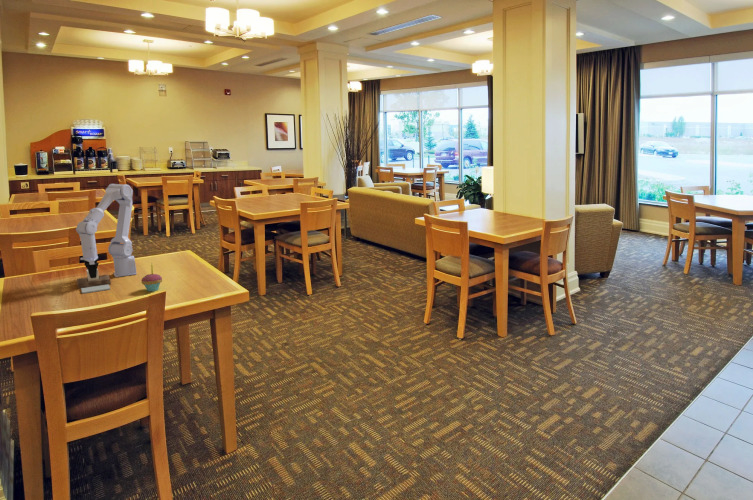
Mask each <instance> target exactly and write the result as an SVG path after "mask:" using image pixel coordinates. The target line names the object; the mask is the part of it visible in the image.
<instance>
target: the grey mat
mask: <svg viewBox="0 0 753 500" xmlns="http://www.w3.org/2000/svg"><path fill="white" fill-rule="evenodd" d="M80 290H81V294H90V293H96V292H103V291H110V290H111V287H110V285H109V284H107V285H101V286H94V287H87V288H81V289H80Z"/></svg>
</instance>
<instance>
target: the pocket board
mask: <svg viewBox="0 0 753 500" xmlns="http://www.w3.org/2000/svg"><path fill="white" fill-rule="evenodd" d="M76 284H77V287H78V290H81V288H87V287H94V286H101V285H107V284H109V286H110V285H112V282H111V278H110V275H109V274H102V275H101V274H100V275H99V280H93V281H88V278H87V277H80V278H76Z"/></svg>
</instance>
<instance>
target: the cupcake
mask: <svg viewBox="0 0 753 500" xmlns="http://www.w3.org/2000/svg"><path fill="white" fill-rule="evenodd" d="M150 268H151V270H150V274H145V276H143V277H142V278H141V285H144V287H145V289H146V291H147V292H156V291H158V290H160V289H159V288H160V285H161V283H162V282H163V277H162V276H161V275H160V274H158V273H157V274H156V273H154V265H153V263H151V266H150Z"/></svg>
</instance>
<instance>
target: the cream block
mask: <svg viewBox="0 0 753 500" xmlns="http://www.w3.org/2000/svg"><path fill="white" fill-rule="evenodd" d="M85 270H86V276H87V278H88V281H93V280H99V276H100V275H99V269H98V268H97V275H96V278H91V277H90V275H89V271H88V269H87V268H86V269H85Z"/></svg>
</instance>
